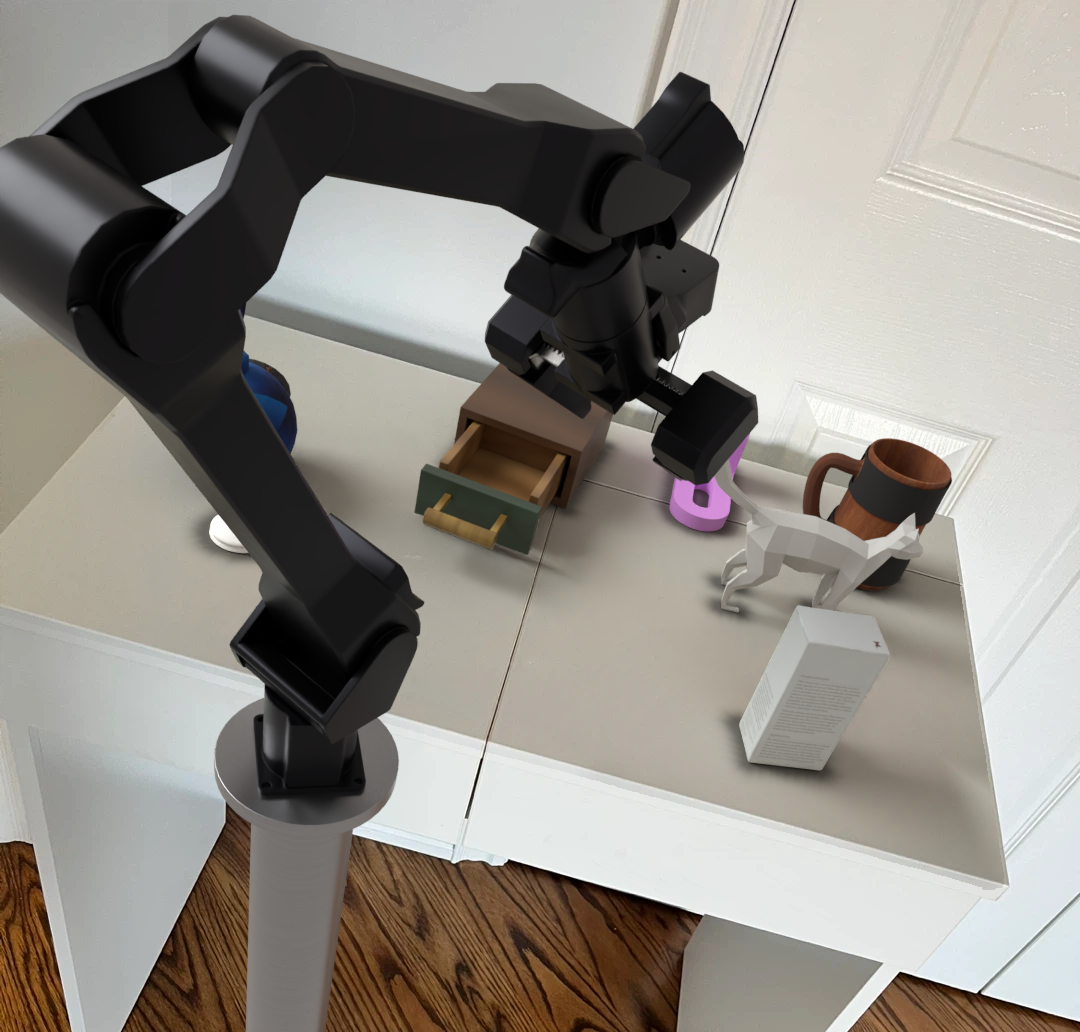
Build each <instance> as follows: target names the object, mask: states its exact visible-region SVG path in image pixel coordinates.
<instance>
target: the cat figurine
mask: <svg viewBox="0 0 1080 1032" xmlns="http://www.w3.org/2000/svg"><path fill="white" fill-rule="evenodd" d="M714 477H715V480H716V482H717V485H718V486H719V487H720V488H721V489H722V490H723V491H724V492H725V493H726V494H727V495H728V496H729V497H730V498H731V501H733V502H734V503H736V504H737V505H738V506H740V507H741V508H742V509H744V510H745V511H746V512H748V513H749V514H750V515H751V519H750V520H749V521H748V522H746V531H745V532H746V533H745V547H744V548H741V549H740V550H739V551H738V552H736V553H734V554H733V555H732V556H731V557H730V558H728V559H726V562H725V563H724V567H723V569H722V572H721V575H720V584H721V585H723V586H725V587H724V591H723V594H722V597H721V599H720V601H721V602H720V605H721V607H720V608H721V610H726V611H728V612H729V611H730V612H733V613H737V614H738V613H740V608H739V607H737V606H732V605H729V604H728V602H729V601H730V599H731V597H732V596H733V594H734V592H735V591H739V590H743V589H749V588H753V587H758V586H760V585H762V584H764V583H767V582H768V581H770V580H772V579H775V578H776V577H778V576H779V574H780V571H781V569H782V565H785V566H786V567H789V568H790V569H792V570H795V571H796V572H798V573H807V574H808V573H809V574H822V575H821V577H820V580H819V582H818V585H817V588H816V590H815V592H814V595H813V598H812V602H811V607H812V608H819V609H826V610H833V611H835V609H836V608H837V607H838V606H839V604H840V603H841V602H842V601H843V600H844V599H845V598H847V597H848V596H849V595H850V594H851V593H852V592H853V591H855V589H857V588H856V587H857V586H858V585H860V584H861V583H862V582H863V581H864V580H865V579H866V578H867V577H869V576H870V575H871V574H872V573H873V572H874V571H875V570H877V569H878V568H879V567H880V566H881V565H882V564H883V563H884V562H885V561H886V560H888V559H889V558H890V557H891V556H893V557H895V558H898V559H905V560H908V559H911V560H912V559H916V558H920V557H921V556H922V554H923V552H924V548H923V546H922V545H921V543H920V537H919V533H918V531H919V528H918V529H916V528H915V513H914V514H912V515H910V516H909V517H908V518H907V519H905V520H904V521H903V522H902V523H901V524H900V525H899V526H898V528H897V529H896V530H895V531H893V532H892V533H890V534H889V535H888V536H886V537H881V538H876V539H871V540H867V541H863V540H862V539H860V538H858V537H857V536H855V535H854V534H852V533H851V532H849V531H848V530H846V529H844V528H842V527H840V526H837V525H835V524H833V523H830V522H828V521H826V520H827V519H825V520H823V519H824V518H823V519H821V518H819V517H816V516H811V515H805V514H803V513H798V512H793V511H788V510H784V509H780V508H775V507H770V506H769V507H768V506H764V505H763V506H762V505H758V504H757V503H756V502H755V501H753V500H752V499H751V498H750V497H748V496H747V495H746V494H745V493H743V491H742V490H741V489H740V488H739V486H738V485H737V484H736V483H735V481H734V478H733V479H732V473H731V468H730V462H729V459H728V460H727V461H726V463H725V464H724V465H723V466H722V467H721V469H720V470H719V471H718V472H717V473H716V475H715V476H714ZM741 567H742V568H743V567H745V569H744V570H742V571H740V572H739V573H738V574H737V575H735V576H734V577H733V578H731V579H730V580H727V579H728V578H729V576H730V575H731V573H732V572H733V571H734V569H737V568H741ZM828 591H829V593H828ZM827 593H828V594H827ZM826 594H827V595H826ZM825 595H826V596H825ZM824 597H825V598H824ZM823 598H824V599H823ZM822 599H823V601H822ZM821 601H822V604H820V602H821Z"/></svg>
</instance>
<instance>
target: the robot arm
mask: <svg viewBox="0 0 1080 1032" xmlns="http://www.w3.org/2000/svg"><path fill="white" fill-rule="evenodd" d="M711 94H712V93H711V85H710V83H707V82H705V81H703V80H700V79H698V78H697V77H694V76H692V75H690V74H687V73H685V72H684V71H678V72H677V74H676V75H675V76H674V77H673V78H672V80H671V81H670V82H669V83H668V84H667V85H666V87H665V88H664V90H663V91H662V93H661V94H660V96H659V98H658V99H657V100H656V102H655V103H654V104H653V105H652V106H651V108H649V110H648V111H647V112H646V113H645V114H644V115H643V116H642V118H641V119H640V120H639V121H638V122H637V124H636V125H635V126H634V127H630V126H628V125H627V124H624V123H622V122H621V121H618V120H616V119H614V118H613V117H610V116H608V115H605V114H604V113H601V112H600V111H597V110H596V109H593V108H591V107H590V106H588V105H585V104H583V103H581V102H579V101H577V100H575V99H573V98H571V97H569V96H567V95H564V94H563V93H560V92H558V91H557V90H554V89H552V88H550V87H548V86H546V85H544V84H541V83H536V82H535V83H534V82H531V83H530V82H496V83H494V84H493V85H491V86H490V87H489V88H488V89H486V90H485V91H466V90H463V89H460V88H457V87H453V86H450V85H446V84H443V83H440V82H437V81H434V80H430V79H428V78H425V77H421V76H417V75H414V74H411V73H408V72H404V71H402V70H400V69H399V70H398V69H396V68H393V67H389V66H385V65H383V64H379V63H376V62H373V61H370V60H366V59H363V58H360V57H357V56H353V55H350V54H347V53H343V52H340V51H337V50H334V49H331V48H328V47H325V46H321V45H318V44H314V43H311V42H309V41H305V40H302V39H298V38H295V37H292V36H291V35H288V34H287V33H284V32H282V31H281V30H280V29H277V28H276V27H273V26H271V25H269V24H268V23H266V22H264V21H262V20H260V19H258V18H256V17H254V16H252V15H247V14H246V15H244V14H232V15H229V16H218V17H216V18H213V19H212V20H210V21H208V22H207V23H205V24H203V25H202V26H201V27H200V28H199V29H198V30H197V31H196V32H194V33H193V34H192V35H191V36H189V38H187V40H185V41H184V42H183V43H182V44H181V45H180V46H179V47H177V48H176V49H175V50H174V51H173V52H172V53H170V54H169V56H167V57H165V58H162V59H160V60H157V61H155V62H152V63H150V64H148V65H145V66H143V67H140V68H138V69H135V70H133V71H131V72H128V73H126V74H123V75H120V76H119V77H116V78H113V79H111V80H109V81H105V82H103V83H101V84H99V85H96V86H93V87H91V88H89V89H86V90H84V91H81V92H79V93H77V94H76V95H75V96H73V97H72V98H70V99H69V100H68V101H67V102H66V103H65V104H64V105H62V106H61V107H60V108H59V109H58V110H56V112H54V113H53V114H52V115H51V116H49V117H48V118H47V119H46V120H45V121H43V123H42V124H41V125H39V127H38V128H36V129H35V130H34V131H33V132H32V133H30V135H28V136H23V137H22V136H21V137H16V138H15V139H13V140H11V141H9V142H7V143H6V144H4V145H2V146H0V294H1V296H2V297H4V298H5V299H6V300H7V301H9V302H10V303H11V304H12V305H14V306H15V307H16V308H17V309H18V310H19V311H20V312H22V313H23V314H24V315H26V316H27V317H28V318H29V319H30V320H32V322H34V323H35V324H36V325H37V326H39V327H40V328H41V329H42V330H43V331H45V332H46V333H47V334H48V335H49V336H51V337H52V338H53V339H54V340H56V341H57V342H58V343H59V344H61V345H62V346H63V347H64V348H66V349H67V350H68V351H69V352H70V353H71V354H73V355H74V356H75V357H76V358H77V359H78V360H80V361H81V362H83V363H84V364H85V365H87V367H89V368H90V369H91V370H93V372H95V373H96V374H97V375H98V376H99V377H101V378H102V379H104V380H105V381H106V382H107V383H108V384H110V385H111V386H112V387H113V388H114V389H115V390H117V392H119V393H120V394H122V395H123V396H124V397H125V398H126V399H127V400H128V401H129V403H130V404H131V405H132V407H133V408H134V409H135V410H136V411H137V413H138V414H139V415H140V417H141V418H142V419H143V420H144V422H145V423H146V424H147V426H148V427H149V428H150V429H151V431H152V432H153V434H154V435H155V436H156V437H157V438H158V440H159V441H160V442H161V443H162V445H163V446H164V447H165V448H166V450H167V451H168V452H169V454H170V455H171V456H172V457H173V459H174V460H175V461H176V462H177V464H178V465H179V466H180V468H181V469H182V470H183V472H184V473H185V474H186V475H187V477H188V478H189V479H190V481H192V484H194V486H195V487H196V488H197V489H198V490H199V492H200V494H201V495H202V496H203V497H204V498H205V499H206V501H207V502H208V503H209V505H210V506H211V507H212V509H213V510H214V511H215V513H216V514H217V515H219V516H220V517H221V518H222V520H223V521H224V522H225V524H226V525H227V526H228V527H229V529H230V530H231V531H232V532H233V534H234V535H235V536H236V538H237V539H238V540H239V541H240V543H241V544H242V545H243V546H244V548H245V549H246V550H247V552H248V553H247V554H249V555H250V557H251V559H252V560H253V561H254V562H255V563H256V564H257V566H258V567H259V569H260V572H261V576H260V579H259V582H258V592H259V595H260V597H261V599H260V601H259V602H258V604H257V605H256V606H255V608H254V609H253V611H252V612H251V613H250V614H249V616H248V617H247V618H246V620H245V621H244V622H243V624H242V626H241V627H240V628H239V629H238V630H237V632H236V634H235V635H234V636H233V638H231V640H230V642H229V647H230V650H231V652H232V654H233V656H234V658H235V660H236V662H237V663H238V664H239V665H240V666H241V667H243V668H246V669H247V670H248V671H250V673H251V674H253V675H254V676H255V677H256V678H258V679H259V681H260V682H262V683H263V684H264V693H263V694H264V695H263V698H264V714H258V715H256V716H255V717H254V719H253V727H254V741H255V756H256V770H257V784H258V792H259V793H260V794H261V795H263V796H278V795H300V794H321V793H343V792H360V791H362V790H364V788H365V785H366V779H365V773H364V766H363V760H362V754H361V748H360V742H359V735H358V729H359V728H361V727H363V726H364V725H366V724H368V723H369V722H371V721H373V720H374V719H376V718H378V719H379V717H381V716H383V715H385V714H386V713H388V712H390V710H391V709H392V707H393V705H394V703H395V700H396V698H397V696H398V693H399V691H400V689H401V687H402V684H403V683H404V680H405V678H406V675H407V674H408V671H409V669H410V666H411V664H412V663H413V660H414V658H415V655H416V652H417V649H418V644H419V643H418V642H419V641H418V637H419V636H420V634H421V628H422V627H421V623H422V622H421V619H420V615H419V613H418V612H417V610H419V609H420V608H422V607H423V606H424V605H425V601H424V600H423V599H422V598H421V597H419V596H417V595H416V594H415V593H413V590H412V587H411V583H410V578H409V576H408V574H407V573H406V571H405V568H404V567H403V565H401V564H400V563H399V562H398V561H396V560H395V559H394V558H392V557H391V556H389V554H387V553H386V552H384V551H383V550H382V549H380V548H379V547H378V546H376V545H375V544H374V543H373V542H371V541H370V540H368V538H366V537H365V536H363V535H362V534H360V533H359V532H358V531H357V530H355V529H354V528H352V527H351V526H350V525H349V524H347V523H346V522H345V521H343V520H342V519H341V518H339V517H338V516H336V514H334V513H333V512H329V514H327V512H326V510H325V509H324V507H323V505H322V503H321V502H320V501H319V499H318V497H317V495H316V494H315V492H314V490H313V489H312V487H311V485H310V483H308V480H307V479H306V477H305V476H304V474H303V472H302V471H301V468H299V465H298V464H297V463H296V461H295V459H294V457H293V456H292V453H291V454H290V453H289V451H288V449H287V448H286V446H285V444H284V443H283V441H282V440H281V438H280V436H279V435H278V433H277V431H276V430H275V428H274V426H273V425H272V423H271V421H270V420H269V418H268V416H267V415H266V413H265V411H264V410H263V408H262V407H261V405H260V403H259V402H258V400H257V398H256V397H255V395H254V393H253V392H252V390H251V388H250V387H249V385H248V383H247V382H246V380H245V378H244V375H243V373H242V370H241V365H242V358H243V352H244V351H245V344H246V339H247V338H246V337H247V327H246V323H245V321H244V319H243V317H242V314H241V311H240V308H241V307H242V306H243V305H244V304H245V303H246V304H247V303H248V302H249V301H250V300H251V299H252V298H253V297H254V296H255V295H256V294H257V293H258V292H259V291H261V289H262V288H263V287H264V286H265V285H266V284H267V283H268V282H269V281H271V279H272V278H273V277H274V275H275V273H276V272H277V270H278V267H279V266H280V262H281V260H282V256H283V254H284V250H285V248H286V245H287V242H288V239H289V236H290V233H291V230H292V227H293V225H294V221H295V219H296V216H297V214H298V210H299V207H300V205H301V204H300V203H301V201H302V199H303V198H304V197H305V196H306V195H308V193H309V192H311V191H312V190H313V189H314V188H315V187H316V186H317V185H318V184H319V183H320V182H321V181H322V180H323V179H324V178H325V177H330V178H336V179H340V180H347V181H353V182H358V183H364V184H369V185H375V186H381V187H386V188H392V189H397V190H402V191H409V192H413V193H420V194H426V195H431V196H436V197H442V198H448V199H453V200H459V201H463V202H468V203H469V202H470V203H475V204H482V205H487V206H492V207H498V208H500V209H502V210H504V211H505V212H508V213H509V214H511V215H514V217H516V218H519V219H520V220H523V221H525V222H526V223H528V224H530V225H532V226H533V227H536V228H537V230H536V231H535V232H534V233H533V235H532V236H531V239H530V241H529V245H525V246H524V247H522V249H521V252H520V256H519V258H518V259H516V262H514V264H513V265H512V266H511V267H510V269H509V270H508V272H507V274H506V278H505V281H504V284H503V290H504V291H505V292H506V293H507V294H509V296H508V298H507V299H506V300H505V301H504V303H503V304H502V305H501V306H500V307H499V308H498V310H497V311H496V312H494V314H493V315H492V316H491V318H489V320H488V321H487V325H486V328H485V332H484V343H485V345H486V347H487V350H488V352H489V355H490V357H491V359H493V360H494V361H495V362H498V364H499V363H501V364H502V365H504V366H506V367H507V369H508V370H509V371H510V372H511V373H513V374H514V375H516V376H518V377H519V378H521V379H522V380H524V381H525V382H527V383H528V384H530V385H531V386H533V387H534V388H536V389H537V390H539V391H540V392H542V393H543V394H545V395H546V396H548V397H549V398H551V399H553V400H554V401H556V402H557V403H559V404H560V405H562V406H563V407H565V408H566V409H568V410H569V411H570V412H572V413H573V414H575V415H576V416H578V417H580V418H581V419H583V418H585V416H586V415H587V414H588V413H589V412H590V410H591V408H592V407H591V401H592V402H594V403H595V404H597V405H599V406H600V407H602V408H603V409H605V410H607V411H608V412H610V413H612V414H613V416H616V414H617V413H618V412H619V411H620V410H621V408H623V406H624V405H625V403H630V402H633V401H634V400H637V401H638V402H640V403H642V404H644V405H646V406H647V407H649V408H651V410H654V411H656V412H658V413H659V414H661V415H662V416H664V418H663V419H662V420H661V422H660V423H658V425H657V428H656V430H655V433H654V435H653V438H652V440H651V443H650V448H651V451H652V454H653V455H654V457H653V458H652V459H651V460H652V462H653V463H654V464H655V465H657V466H659V467H660V468H662V470H664V471H665V472H667V473H668V474H670V475H671V476H672V477H674V479H675V478H677V479H678V480H680V481H682V480H684V481H689V482H691V483H692V484H694V485H702V484H707V483H709V482H710V481H711V479H712V478H713V477H714V476H715V475H716V473H717V472H718V471H719V470H720V469H721V467H722V466H723V465H724V464H725V463H726V461H727V460H728V459H729V458H730V457H731V455H732V454H733V453H734V452H735V450H736V449H737V448H738V447H739V446H740V444H741V443H742V442H743V441H744V440H745V438H746V437H747V436H748V435H749V434H750V435H751V433H752V431H753V430H754V429H755V428H756V427H757V425H758V424H759V407H758V405H759V404H758V400H757V394H754V393H753V392H752V391H750V390H748V389H746V388H744V387H743V386H741V385H739V384H737V383H735V382H734V381H732V380H731V379H728V378H726V377H725V376H724V375H721V374H720V373H719V372H716V371H715V370H708V371H703V372H702V373H700V375H699V376H698V377H697V378H696V379H695V381H694V382H693V383H689V382H688V381H687V380H686V381H685V380H684V379H682V378H681V377H679V376H677V375H675V374H673V373H672V372H671V371H669V370H667V369H665V368H664V367H662V366H660V365H659V363H660V362H661V361H662V360H664V361H666V362H670V361H671V359H673V357H674V356H675V355H676V354H677V352H678V351H679V350H680V349H681V343H680V335H679V334H680V333H682V332H683V331H685V330H686V329H687V328H689V327H690V326H691V325H693V324H694V323H695V322H697V320H699V319H700V318H702V317H706V316H707V315H708V314H710V313H711V311H712V309H713V305H714V304H713V303H714V298H715V292H716V288H717V287H716V286H717V281H718V275H719V270H720V262H719V260H718V259H717V258H716V257H715V256H714V255H713V256H712V255H711V254H709V253H707V252H706V251H703V250H701V249H699V248H697V247H695V246H694V245H691V244H690V243H688V242H686V241H684V240H682V239H683V237H684V236H685V235H686V234H687V233H688V231H689V230H690V229H692V227H693V226H694V225H695V223H696V222H697V221H698V220H699V219H700V217H702V215H703V214H704V213H705V211H707V209H709V207H710V206H711V204H712V203H713V202H714V201H715V200H716V199H717V198H718V196H719V195H720V194H721V193H722V192H723V190H725V188H726V187H727V185H728V184H730V182H731V181H732V180H733V179H734V178H735V176H736V175H737V174H738V173H739V172H740V170H741V168H742V167H743V164H744V160H745V147H744V146H745V145H744V143H743V142H742V140H740V139H739V136H738V134H737V131H736V130H735V127H734V126H733V123H732V122H731V120H729V118H728V116H727V115H726V114H725V113H724V111H722V109H721V108H720V107H719V106H718V105H717V104H716V103H715V102H714V101H712V95H711ZM230 147H231V149H230V152H229V154H228V156H227V159H226V161H225V162H226V163H225V164H224V167H223V170H222V172H221V175H220V178H219V180H218V183H217V185H216V187H215V189H213V190H212V191H211V192H210V193H209V194H208V195H206V197H204V199H202V200H201V201H200V202H199V203H198V204H196V206H195V207H194V208H193V209H192V210H191V211H189V213H187V214H185V213H183V212H182V211H180V210H179V209H177V208H176V207H174V206H173V205H172V204H170V203H168V202H167V201H165V200H163V199H162V198H161V197H159V196H158V195H156V194H154V192H151V191H150V190H149V189H146V188H145V187H144V186H146V185H148V184H151V183H153V182H157V181H158V180H160V179H161V180H162V179H163V178H166V177H168V176H170V175H173V174H175V173H176V174H177V173H178V172H180V171H183V170H185V169H188V168H192V167H193V166H196V165H198V164H200V163H203V162H205V161H208V160H210V159H213V158H215V157H217V156H219V155H220V154H222V153H224V152H225V151H226V150H228V149H229V148H230ZM750 435H749V436H750ZM259 721H263V722H262V723H261V722H259ZM355 783H360V784H359V785H357V784H355ZM266 786H267V787H270V788H268V789H265V788H263V787H266Z"/></svg>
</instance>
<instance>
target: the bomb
mask: <svg viewBox="0 0 1080 1032" xmlns="http://www.w3.org/2000/svg"><path fill="white" fill-rule="evenodd" d="M246 309H247V302H246V303H245V304H244V305H243V306H242V307H241V308H240V311H241V314H242V317H243V320H244V319H245V315H246ZM241 370H242V373H243V375H244V378H245V380H246V382H247V383H248V385H249V387H250V388H251V390H252V392H253V393H254V395H255V397H256V398H257V400H258V402H259V403H260V405H261V407H262V408H263V410H264V411H265V413H266V415H267V416H268V418H269V420H270V421H271V423H272V425H273V426H274V428H275V430H276V431H277V433H278V435H279V436H280V438H281V440H282V441H283V443H284V444H285V446H286V448H287V449H288V451H289V453H290V454H291V455H292V452H293V449H294V447H295V444H296V439H297V435H298V419H297V414H296V408H295V404H294V402H293V401H292V399H291V395H292V393H291V387H290V383H289V382H288V381H287V379H286V377H285V376H284V374H282V373H281V372H280V371H279V370H278V369H277V368H275V367H273V366H271V365H270V364H267V363H266V362H264V361H260V360H259V359H254V358H250V355H249V354H248V353H247V352H246V351H245V350H244V352H243V358H242V365H241Z"/></svg>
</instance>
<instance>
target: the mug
mask: <svg viewBox="0 0 1080 1032" xmlns="http://www.w3.org/2000/svg"><path fill="white" fill-rule="evenodd" d="M830 469H836V470H838V471H841V472H842V473H845V474H848V475H851V477H850V479H849V482H848V485H847V489H846V490H845V493H844V495H843V497H842V498H841V500H840V502H839V504H837V505H836V506H835V507H834V508H833V509H832V511H831V512H830V514H829V515H828V517H827V518H826V519H825V518H823V517H822V515H821V510H820V504H821V493H822V489H823V485H824V482H825V479H826V476H827V473H828V472H829V470H830ZM952 477H953V476H952V471H951V469H950V467H949V466H948V465H947V463H946V462H945V461H944V460H943V459H942V458H940V457H939V456H938V455H937V454H935V453H934V452H932V451H930V450H929V449H927V448H925V447H924V446H921V445H919V444H917V443H913V442H910V441H907V440H904V439H899V438H891V437H887V438H886V437H885V438H878V439H876V440H874V441H873V442H872V443H871V444H869V445H868V446H867V447H866V449H865V451H864V453H863V454H862V456H861V458H860V459H857V458H854V457H851V456H849V455H847V454H844V453H841V452H829V453H825V454H823V455H821V456H820V457H819V458H818V459H817V460H816V461H815V463H814V464H813V465H812V467H811V469H810V471H809V473H808V475H807V478H806V480H805V481H806V482H805V486H804V490H803V496H802V514H805V515H811V516H816V517H819V518H821V519H823V520H826V521H828V522H830V523H833V524H835V525H837V526H840V527H842V528H844V529H846V530H848V531H849V532H851V533H852V534H854V535H855V536H857V537H858V538H860V539H862V540H863V541H867V540H871V539H876V538H881V537H886V536H888V535H889V534H890V533H892V532H893V531H895V530H896V529H897V528H898V526H899V525H900V524H901V523H902V522H903V521H904V520H905V519H907V518H908V517H909V516H910V515H912V514H914V513H915V528H916V529H918V528H919V531H918V533H919V538H920V536H921V535H922V533H923V531H924V529H925V527H926V526H927V525H928V524H929V523H931V521H933V519H934V517H935V514H936V513H937V510H938V509H939V507H940V505H941V503H942V501H943V499H944V498H945V496H946V494H947V493H948V490H949V489H950V487H951V485H952V483H953V478H952ZM911 561H912V559H908V560H905V559H898V558H895V557H893V556H891V557H890V558H889V559H888V560H886V561H885V562H884V563H883V564H882V565H881V566H880V567H879V568H878V569H877V570H875V571H874V572H873V573H872V574H871V575H870V576H869V577H867V578H866V579H865V580H864V581H863V582H862V583H861V584H860V585H858V586H857V587H856V588H855V589H858V590H863V591H871V592H872V591H874V592H876V591H881V590H882V591H883V590H885V589H887V588H889V587H891V586H894V585H895V584H898V582H899V581H900V579H902V576H904V573H905V572H906V570H907V568H908V566H909V564H910V562H911Z"/></svg>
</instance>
